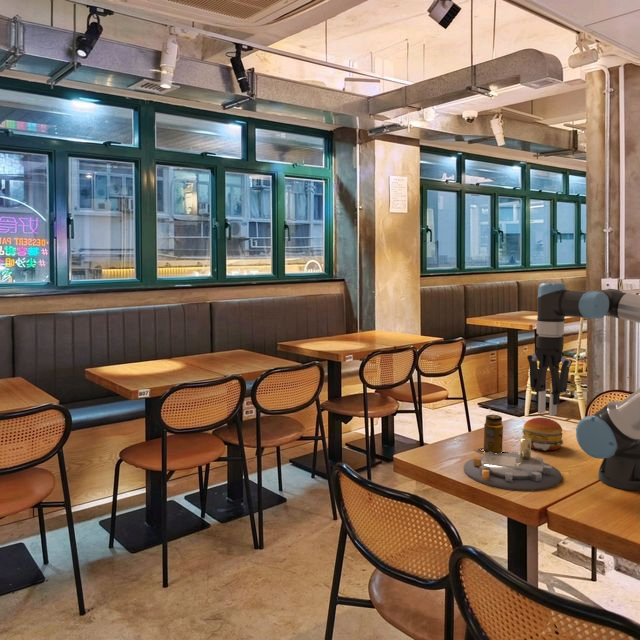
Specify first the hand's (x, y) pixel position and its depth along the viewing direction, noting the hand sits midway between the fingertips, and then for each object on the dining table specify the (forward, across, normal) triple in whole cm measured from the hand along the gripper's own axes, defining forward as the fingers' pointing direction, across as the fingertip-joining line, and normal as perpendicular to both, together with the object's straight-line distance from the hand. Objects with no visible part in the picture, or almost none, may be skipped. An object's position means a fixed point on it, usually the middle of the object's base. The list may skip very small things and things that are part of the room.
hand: (547, 413), depth 184 cm
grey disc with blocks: (+17, +7, +7) cm, 20 cm away
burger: (+19, +16, -24) cm, 34 cm away
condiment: (+19, +24, -6) cm, 31 cm away
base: (+19, +7, +7) cm, 21 cm away
